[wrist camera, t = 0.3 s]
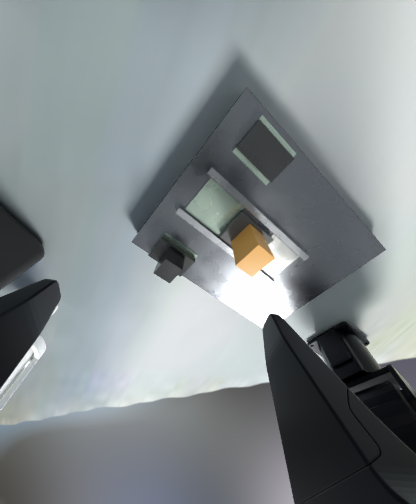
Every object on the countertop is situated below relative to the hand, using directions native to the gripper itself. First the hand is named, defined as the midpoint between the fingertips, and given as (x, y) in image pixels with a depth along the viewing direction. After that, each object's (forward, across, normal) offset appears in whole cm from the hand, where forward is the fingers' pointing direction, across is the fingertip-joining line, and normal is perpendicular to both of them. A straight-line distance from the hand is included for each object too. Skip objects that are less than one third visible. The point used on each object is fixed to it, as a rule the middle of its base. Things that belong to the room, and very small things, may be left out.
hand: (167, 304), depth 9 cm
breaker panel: (+14, -7, +2) cm, 16 cm away
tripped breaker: (+12, -6, +1) cm, 13 cm away
